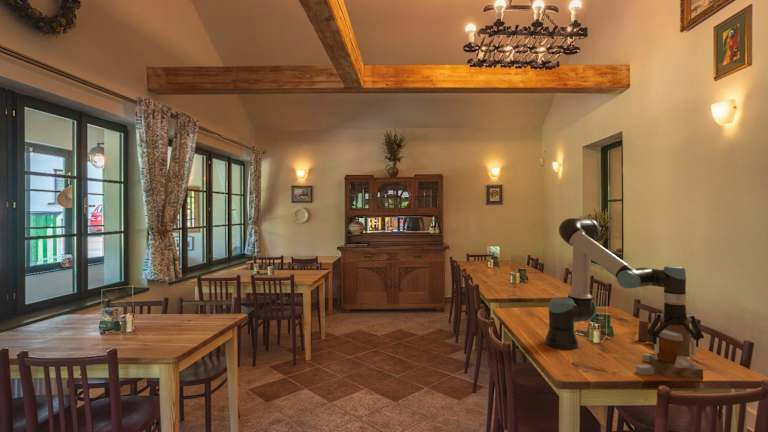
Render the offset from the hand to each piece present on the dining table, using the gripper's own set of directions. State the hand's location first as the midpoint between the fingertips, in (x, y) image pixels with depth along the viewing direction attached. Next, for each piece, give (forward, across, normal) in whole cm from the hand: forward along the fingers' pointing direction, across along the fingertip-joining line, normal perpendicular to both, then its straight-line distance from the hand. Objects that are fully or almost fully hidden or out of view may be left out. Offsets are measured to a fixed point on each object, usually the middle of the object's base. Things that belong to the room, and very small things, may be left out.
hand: (674, 353), depth 168 cm
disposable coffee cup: (+3, -3, 0) cm, 5 cm away
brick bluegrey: (+8, -13, -5) cm, 16 cm away
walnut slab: (+8, 0, 0) cm, 8 cm away
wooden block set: (+8, +5, +41) cm, 42 cm away
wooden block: (+8, +10, +24) cm, 27 cm away
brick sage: (+8, -5, +10) cm, 14 cm away
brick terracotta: (+8, +7, +11) cm, 15 cm away
